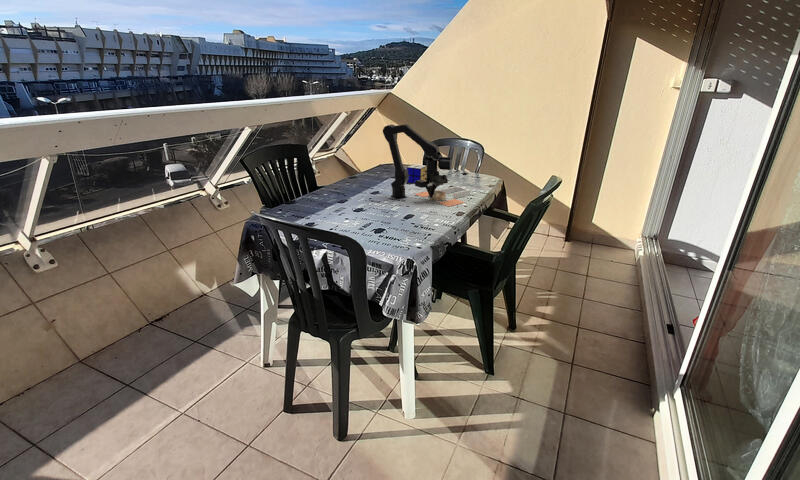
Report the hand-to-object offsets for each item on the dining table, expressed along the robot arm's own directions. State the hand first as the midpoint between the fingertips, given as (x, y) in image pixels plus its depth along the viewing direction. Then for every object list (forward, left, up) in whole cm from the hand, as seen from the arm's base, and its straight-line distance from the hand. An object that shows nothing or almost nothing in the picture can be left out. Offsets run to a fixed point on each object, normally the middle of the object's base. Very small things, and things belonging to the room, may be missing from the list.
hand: (431, 197), depth 215 cm
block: (+5, 0, -2) cm, 5 cm away
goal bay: (+19, 0, -2) cm, 19 cm away
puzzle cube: (+19, +37, -2) cm, 42 cm away
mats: (+6, 0, -2) cm, 6 cm away
